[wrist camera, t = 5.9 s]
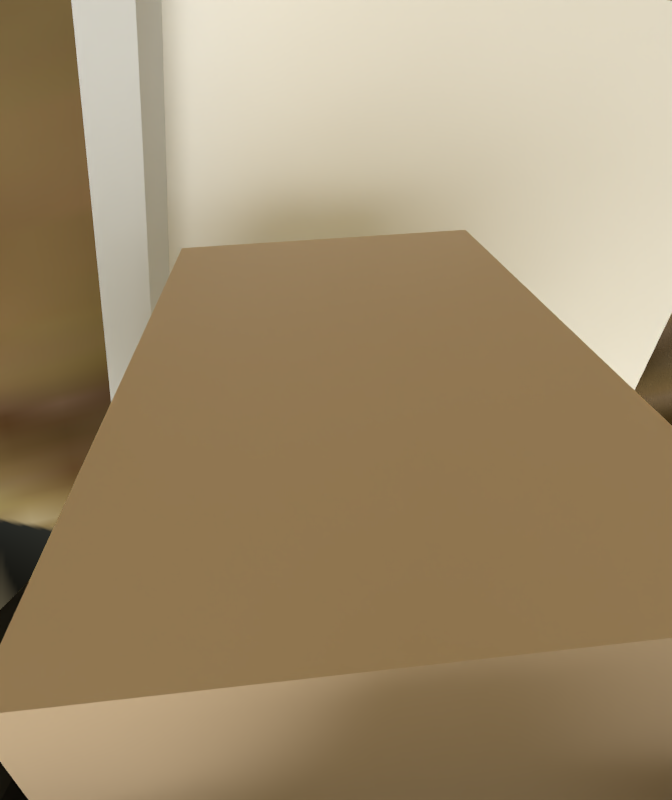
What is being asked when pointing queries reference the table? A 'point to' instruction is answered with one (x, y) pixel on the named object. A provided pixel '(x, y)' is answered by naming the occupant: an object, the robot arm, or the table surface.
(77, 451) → the table surface
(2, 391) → the table surface
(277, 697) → the kraft carton
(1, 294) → the table surface
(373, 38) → the large cream panel
